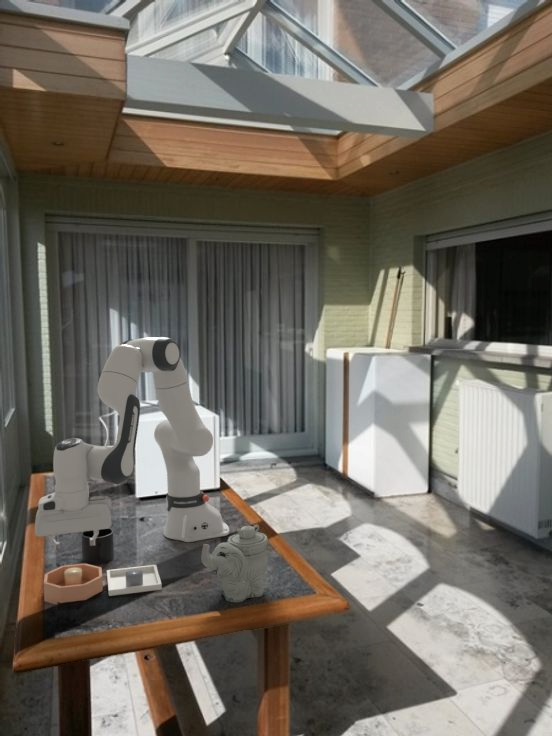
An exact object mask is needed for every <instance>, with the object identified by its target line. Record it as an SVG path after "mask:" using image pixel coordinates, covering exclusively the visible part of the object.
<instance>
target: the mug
mask: <svg viewBox="0 0 552 736" xmlns="http://www.w3.org/2000/svg"><path fill="white" fill-rule="evenodd" d="M80 535H81V538H80V539H81V560H82V562H83V563H84V564H89V565H97V564H100V565H101V564H104V563H108V562H110V561H111V560H113V559H114V558H115V557H114V556H115V547H114V546H115V545H114V530H113V529H112V528H111V527H110V528H108V529H101V530H99V534H98V536H97V538H96V539H95V545H93V546H90V538H93V536H94V530H92V531H84V532H81V534H80Z"/></svg>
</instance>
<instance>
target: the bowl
mask: <svg viewBox="0 0 552 736" xmlns="http://www.w3.org/2000/svg"><path fill="white" fill-rule="evenodd" d="M69 568H81V569H82V584H79V585H70V586H65V574H64V572H65V570H67V569H69ZM43 577H44V579H43V599H44V600H43V602H45V603H49V604H51V605H55V606H58V603H60V604H63V603H72V602H77V601H78V602H80V601H86V600H88V599H90V598H92V597H95V595H97V594H99V593H102V591H103V590H104V589H103V569H102V566H97V565H94V564H89V563H77V564H68V565H67V564H66V565H61V566H59V567H57V568H55V569H52V570H50V571H48V572H46V573H44V576H43Z"/></svg>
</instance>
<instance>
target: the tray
mask: <svg viewBox="0 0 552 736" xmlns="http://www.w3.org/2000/svg"><path fill="white" fill-rule="evenodd" d="M134 569H137V570H141V571H143V585H140V586H131V587H126V572H127V571H129V570H134ZM106 579H107V580H106V581H107V590H108V597H113V596H121V595H129V594H137V593H144V592H145V593H146V592H152V591H160V590H161V591H162V589H163V587H162V580H161V578H160V573H159V570H158V566H157V564H149V565H141V566H132V567H124V568H116V569H106Z"/></svg>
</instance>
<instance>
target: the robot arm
mask: <svg viewBox="0 0 552 736" xmlns="http://www.w3.org/2000/svg"><path fill="white" fill-rule="evenodd" d="M185 368H186V367H185V365H184V363H183V360H182V358H181V351H180V347H179V345H178V344H177V342H176V341H175V340H174V339H173V338H170V337H165V336H160V337H157V336H156V337H155V336H151V337H149V336H148V337H147V336H146V337H143V338H136V339H134V338H133V339H128V340H124V341H123V342H121V343H119V345H116V346H115V347H114V348H113V349H112V351H111V352H110V354H109V355H108V358H107V359H106V362H105V364H104V366H103V369H102V371H101V374H100V377H99V379H98V383H97V389H96V391H97V395H98V397H99V399H100V401H101V402H102V403H104V405H106V406H107V407H109V408H110V409H112V410H114V411H115V412H117V414H118V416H119V422H118V427H117V433H116V440H115V444H114V445H112V446H103V445H102V446H101V445H95V444H90V443H87V442H84V440H83V439H82V438H78V437H77V438H76V437H72V438H67V439H63V440H62V441H59V442H58V443H56V445H55V448H54V451H53V461H52V462H53V463H52V464H53V465H52V466H53V468H52V469H53V477H54V478H55V486H54V492H52V493H49V494H47V495H46V494H45V496H42V497H40V498H39V500H38V503H37V506H38V509H37V511H36V515H35V520H34V522H35V523H34V534H35V535H36V537H38V538H40V537H41V538H42V537H48V540H49V541H50V543H51V544H52V545H53V550H54V551H59V550H61V549H60V548H61V545H60V541H56V539H55V536H58V535H66V534H75V533H82V532H84V531H92V530H94V536H93V538H90V546H93V545H95V539H96V538H97V536H98V534H99V530H101V529H108V528H110V529H111V527H112V526H113V525H112V517H111V511H110V510H111V509H112V506H113V505H112V499H111V498H110V497H109V496H106V495H105V494H104V495H97V496H96V495H94V496H91V495H89V493H90V492H89V491H90V490H89V483H88V481H89V480H93V481H100V482H101V481H102V482H105V483H110V484H113V485H121V484H123V483H125V482H126V481H127V480H129V478H131V476H132V474H133V473H134V470H135V464H136V463H135V459H136V458H135V449H136V443H137V436H138V429H139V423H140V416H141V404H140V403H141V402H140V400H139V398H138V396H137V387H138V383H139V381H140V375H141V373H152V377H153V384H154V388H155V393H156V397H157V402H158V407H159V410H160V411H161V412H162V414H163V415H164V416H165V417H166V419H165V420H161V421H160V422H159V423H158V424H157V425H156V427H155V429H154V440H155V442H156V444H157V445H158V447H159V448H160V451H161V454H162V457H163V461H164V464H165V465H164V466H165V469H166V479H167V480H166V481H167V482H166V483H167V484H166V485H167V492H166V497H165V507H166V510H167V511H166V520H165V526H164V530H163V536H164V537H166V538H167V539H171V540H175V541H182V542H185V543H191V542H198V541H203V540H209V539H216V538H219V537H226V536H228V535H229V534H230V527H229V526H228V524H227V523H225V522H224V521H223V517H222V515H221V513H220V511H219V510H218V509H217V508H215V507H213V506H212V505H211V504H210V503H208V502H209V500H210V497H209V495H207V494H206V493H204V492H203V491H201V473H200V472H201V471H200V468H199V466H198V465H197V463H196V461H195V459H194V458H195V457H203V456H205V455H207V454H209V452H210V451H211V449H212V447H213V446H214V445H213V444H214V437H213V434H212V432H211V431H210V430H209V429H208V428H207V427H206V425H205V424H204V422H203V420H202V419H201V417H200V415H199V413H198V411H197V408H196V406H195V404H194V401H193V397H192V393H191V389H190V385H189V380H188V375H187V372H186V369H185Z"/></svg>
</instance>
